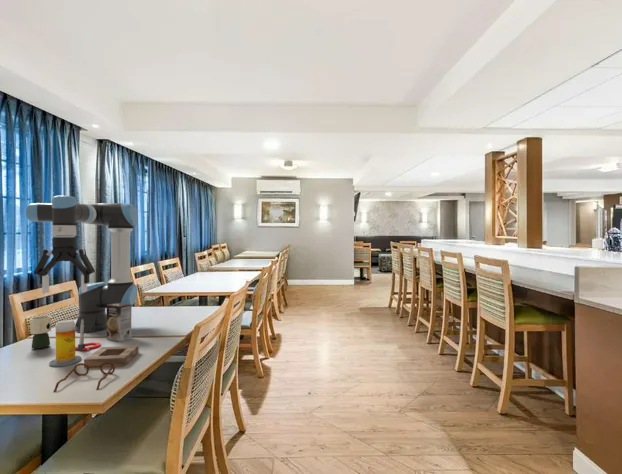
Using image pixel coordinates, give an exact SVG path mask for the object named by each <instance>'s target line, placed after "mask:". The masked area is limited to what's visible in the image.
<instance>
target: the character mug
mask: <svg viewBox="0 0 622 474" xmlns="http://www.w3.org/2000/svg"><path fill="white" fill-rule="evenodd" d="M51 331H52V316H51V315H38V316H33V317H31V318H30V319H29V332H30V334H32V335H33V336H32V340H31V341H32V342H31V349H43V348H47V347H50V346H51V339H50V335H49V332H51Z"/></svg>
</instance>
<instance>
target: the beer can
mask: <svg viewBox="0 0 622 474" xmlns="http://www.w3.org/2000/svg"><path fill="white" fill-rule="evenodd" d="M75 324H76V322H75V320H74V319H63V320H62V319H61V320H58V321H56V324H55V359H56V361H58V362H59V363H64V362H69V361H72V360H73V359H74V358H75V356H76V350H75V346H76V331H75Z"/></svg>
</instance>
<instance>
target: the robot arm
mask: <svg viewBox="0 0 622 474" xmlns="http://www.w3.org/2000/svg"><path fill="white" fill-rule="evenodd" d="M25 215H26V216H25V217H26V219H28V220H29V221H30V222H33V223H34V222H37V223H52V225H51V226H52V227H51V228H52V231H51V232H52V243H51V244H52V249H44V250H42V256H41V258H40V260H39V262H38V263H37V265H36V267H35V269H34V271H33V274H34V275H38V276H39V284H40V285H41V286H42V290H41V292H42V294H46V293H50V276H49V274H48V273H49V272H50V271H51V270H52V269H53V268H54V266H55V265H56V264H58V262H71V263H73V265H74V266H75V267H76V268H77V269H78V270H79V271H80V273H82V275H81V276H80V280H81V281H80V284H81V285H80V287H79V288H78V294H77V296H78V316H77V319H76V322H75V333H80V328H81V320H82V319H83V320H84V322H83V324H84V333H91V332H97V331H102V330H105V329H106V330H107V311H106V305H108V304H113V303H125V304H132V306H133V305H134V304H135V302H136V300H137V297H138V292H139V291H138V286H137V284H135V283H134V280H133V279H132V278H131V233H132V232H133V230H134V227H135V226H137V225H138V222H139V215H138V212H137V209H136V207H135V206H134V204H131V203H125V202H124V203H123V202H119V203H118V202H116V203H115V202H108V203H107V202H101V203H90V204H89V203H88V204H85V203H79V202H78V203H77V198H76V197H75V196H71V195H69V196H68V195H55V196H53V197H52V200H51V203H49V202H48V203H47V202H45V203H43V202H41V203H40V202H36V203H34V202H32V203H29V204H28V205H27V206H26V207H25ZM77 223H82V224H88V225H96V226H105V227H106V226H107V229H108V230H109V232H110V233H111V235H110V236H111V239H110V240H111V243H110V244H111V247H110V248H111V249H110V251H111V252H110V254H111V257H110V258H111V261H110V265H111V266H110V271H111V272H110V279H109V280H108V281H107V283H106V282H105V281H100V282H93V283H90V276H91V274H93V273H95V272H96V270H95V268H94V266H93V265H92V263H91V261H90V259H89V257H88V255H87V251H86V249H85V248H82V249H77V246H78V245H77V239H78V238H77V237H76V236H77V235H78V234H77V232H78V231H77ZM51 255H52V256H53V257H52V258H51V259H50V256H51ZM76 255H77V256H79V257H77V256H76ZM79 258H80V260H81V261H82V262H81V261H80V260H79ZM49 259H50V260H49ZM48 260H49V262H48Z"/></svg>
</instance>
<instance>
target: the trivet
mask: <svg viewBox="0 0 622 474" xmlns="http://www.w3.org/2000/svg"><path fill="white" fill-rule="evenodd" d="M81 361H82V357H81V356H80V355H75V358H74V359H73V360H72V361H69V362H64V363H59V362H58V361H56V358H55V359H52V360H50V361H49V363H48V365H49V367H52V368H60V367H62V368H63V367H67V366H71V365H72V366H73V365H74V364H75V365H76V364H78V363H79V362H81Z"/></svg>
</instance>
